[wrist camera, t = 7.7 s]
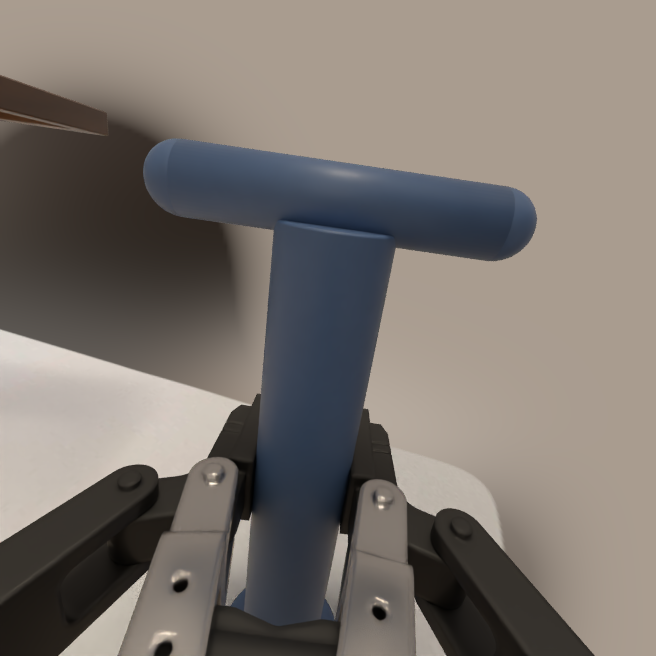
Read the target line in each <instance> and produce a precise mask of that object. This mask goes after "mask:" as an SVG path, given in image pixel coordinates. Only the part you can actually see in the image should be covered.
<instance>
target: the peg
mask: <svg viewBox="0 0 656 656" xmlns="http://www.w3.org/2000/svg"><path fill="white" fill-rule="evenodd" d="M143 172H144V173H143V174H144V181H145V185H146V188H147V190H148V192H149V194H150V195H151V197H152V198H153V199H154V201H155V202H156V203H157V204H158V205H159V206H160V207H162V208H163V209H164V210H166V211H168V212H170V213H172V214H174V215H177V216H182V217H188V218H194V219H202V220H208V221H215V222H222V223H229V224H236V225H243V226H250V227H257V228H263V229H270V230H274V235H273V247H272V260H271V261H272V262H271V273H270V286H269V298H268V312H267V324H266V338H265V350H264V363H263V375H262V388H261V400H260V413H259V426H258V439H257V453H256V466H255V478H254V491H253V504H252V515H251V528H250V541H249V554H248V566H247V579H246V588H245V589H244V590H243V591H242V592H241V593H240V594H239V595H238V596H237V598H236V599H235V600H234V602H233V603H232V605H231V606H230V607H236V608H238V609H240V610H242V611H244V612H246V613H249V614H251V615H253V616H255V617H257V618H259V619H261V620H264V621H266V622H268V623H270V624H272V625H275V626H283V625H289V624H295V623H301V622H307V621H313V620H319V619H325V620H333V621H335V620H334V616H333V614H332V611H331V608H330V606H329V604H328V603H327V601H326V599H325V595H326V590H327V585H328V580H329V575H330V570H331V565H332V560H333V555H334V550H335V545H336V540H337V535H338V530H339V525H340V519H341V514H342V509H343V504H344V499H345V494H346V490H347V485H348V480H349V475H350V470H351V465H352V461H353V456H354V451H355V446H356V441H357V436H358V431H359V426H360V421H361V416H362V411H363V406H364V401H365V396H366V392H367V387H368V381H369V377H370V371H371V367H372V362H373V357H374V352H375V347H376V342H377V337H378V332H379V327H380V322H381V317H382V311H383V307H384V302H385V297H386V293H387V288H388V282H389V278H390V273H391V268H392V263H393V258H394V253H395V248H402V249H408V250H415V251H422V252H429V253H436V254H443V255H450V256H457V257H464V258H470V259H478V260H485V261H498V260H503V259H506V258H509V257H512V256H513V255H515V254H517V253H518V252H520V251H521V250H522V249H523V248H524V247H525V246H526V245H527V244H528V243H529V241H530V240H531V238H532V236H533V234H534V231H535V228H536V221H537V217H536V211H535V207H534V205H533V204H532V202H531V200H530V199H529V198H528V197H527V196H526V195H525V194H524V193H523V192H521V191H519V190H517V189H514V188H511V187H506V186H499V185H493V184H486V183H480V182H473V181H466V180H459V179H452V178H446V177H439V176H431V175H424V174H418V173H411V172H404V171H398V170H391V169H384V168H377V167H370V166H363V165H357V164H350V163H343V162H336V161H330V160H323V159H316V158H309V157H302V156H295V155H288V154H282V153H275V152H268V151H261V150H254V149H248V148H241V147H234V146H227V145H220V144H213V143H207V142H200V141H193V140H186V139H169V140H165V141H163V142H161V143H159V144H157V145H156V146H155V147H154V148H153V149H151V151H150V152H149V154H148V156H147V157H146V160H145V163H144V170H143Z"/></svg>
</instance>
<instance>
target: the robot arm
mask: <svg viewBox="0 0 656 656" xmlns="http://www.w3.org/2000/svg"><path fill="white" fill-rule="evenodd" d="M260 400H261V394H257V395H256V397H255V400H254V402H253V404H252V406H246V405H240V406H239V407H237V408H236V409H235V410H233V411H232V412H231V414H230V415H229V417H228V419H227V421H226V423H225V425H224V427H223V429H222V431H221V433H220V435H219V436H218V438H217V440H216V442H215V444H214V446H213V448H212V450H211V452H210V454H209V456H208V458H207V459H204V460H202V461H200V462H198V463H197V464H195V465H194V466H193V467H192V469H191V470H190V472H189V473H188V474H185V475H182V476H175V477H167V478H158V474H157V472H156V470H155V469H153V468H152V467H150V466H147V465H130V466H126V467H123V468H121V469H118V470H116V471H115V472H113V473H111V474H110V475H108V476H106V477H105V478H103V479H102V480H100V481H98V482H97V483H95V484H94V485H92V486H90V487H89V488H87V489H86V490H84V491H82V492H81V493H79V494H78V495H76V496H75V497H73V498H71V499H70V500H68V501H67V502H65V503H63V504H62V505H60V506H59V507H57V508H55V509H54V510H52V511H51V512H49V513H47V514H46V515H44V516H43V517H41V518H39V519H38V520H36V521H35V522H33V523H31V524H30V525H28V526H27V527H25V528H23V529H22V530H20V531H19V532H17V533H15V534H14V535H12V536H11V537H9V538H7V539H6V540H4V541H3V542H1V543H0V656H58V655H59V654H60V653H62V652H63V651H64V650H65V649H66V648H67V647H68V646H69V645H70V644H71V643H72V642H73V641H74V640H75V639H76V638H77V637H78V636H79V635H80V634H81V633H83V632H84V631H85V630H86V629H87V628H88V627H89V626H90V625H91V624H92V623H93V622H94V621H95V620H96V619H97V618H98V617H99V616H100V615H101V614H102V613H104V612H105V611H106V610H107V609H108V608H109V607H110V606H111V605H112V604H113V603H114V602H115V601H116V600H117V599H118V598H119V597H120V596H121V595H122V594H123V593H125V592H126V591H127V590H128V589H129V588H130V587H131V586H132V585H133V584H134V583H135V582H136V581H137V580H138V579H139V578H140V577H141V576H142V575H143V574H144V573H146V572H147V571H148V573H147V576H146V578H145V581H144V584H143V587H142V590H141V592H140V595H139V598H138V601H137V603H136V606H135V609H134V612H133V615H132V617H131V620H130V623H129V626H128V629H127V631H126V634H125V637H124V640H123V643H122V645H121V648H120V651H119V654H118V656H416V639H415V604H414V597H415V600H416V602H417V604H418V606H419V608H420V609H421V611H422V613H423V615H424V617H425V618H426V620H427V622H428V624H429V625H430V627H431V629H432V631H433V632H434V634H435V636H436V638H437V640H438V641H439V643H440V645H441V647H442V648H443V650H444V652H445V654H446V655H447V656H594V654H593V653H592V652H591V651H590V650H589V649H588V647H587V646H586V645H585V644H584V643H583V642H582V641H581V639H580V638H579V637H578V636H577V635H576V634H575V633H574V631H573V630H572V629H571V628H570V627H569V626H568V625H567V623H566V622H565V621H564V620H563V619H562V618H561V616H560V615H559V614H558V613H557V612H556V611H555V610H554V609H553V608H552V606H551V605H550V604H549V603H548V602H547V600H546V599H545V598H544V597H543V596H542V595H541V594H540V592H539V591H538V590H537V589H536V588H535V587H534V586H533V584H532V583H531V582H530V581H529V580H528V579H527V577H526V576H525V575H524V574H523V573H522V572H521V571H520V569H519V568H518V567H517V566H516V565H515V564H514V563H513V561H512V560H511V559H510V558H509V557H508V556H507V555H506V553H505V552H504V551H503V550H502V549H501V548H500V546H499V545H498V544H497V543H496V542H495V541H494V540H493V538H492V537H491V536H490V535H489V534H488V533H487V532H486V530H485V529H484V528H483V527H482V526H481V525H480V524H479V523H478V521H477V520H475V519H474V518H473V517H472V516H470V515H469V514H467V513H465V512H463V511H461V510H457V509H452V508H447V509H443V510H441V511H439V512H438V513H437V515H436V517H435V516H433V515H430V514H428V513H426V512H423V511H421V510H419V509H417V508H415V507H413V506H412V505H410V504H409V503H408V502H407V501H406V497H405V495H404V493H403V492H402V491H401V490H400V489H399V488H398V487H397V482H396V477H395V471H394V466H393V460H392V455H391V449H390V446H389V445H390V444H389V439H388V434H387V432H386V431H385V430H384V428H383V427H382V426H381V425H380V424H373V423H370V419H369V411H368V409H363V411H362V416H361V421H360V426H359V431H358V436H357V441H356V446H355V451H354V456H353V461H352V465H351V470H350V475H349V480H348V485H347V490H346V494H345V499H344V504H343V509H342V514H341V519H340V533H341V534H348V548H347V552H346V557H345V563H344V570H343V576H342V582H341V588H340V594H339V600H338V606H337V612H336V618H335V621H333V620H325V619H319V620H313V621H307V622H301V623H295V624H289V625H283V626H275V625H272V624H270V623H268V622H266V621H264V620H261V619H259V618H257V617H255V616H253V615H251V614H249V613H246V612H244V611H242V610H240V609H238V608H236V607H230V606H225V603H226V596H227V589H228V582H229V575H230V568H231V561H232V555H233V548H234V540H235V534H236V532H237V529H238V525H239V522H240V519H241V520H249V519H250V515H251V512H252V504H253V491H254V478H255V466H256V453H257V439H258V426H259V413H260Z"/></svg>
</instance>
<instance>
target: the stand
mask: <svg viewBox="0 0 656 656" xmlns="http://www.w3.org/2000/svg"><path fill="white" fill-rule="evenodd" d="M0 121H7V122H14V123H21V124H28V125H35V126H42V127H48V128H55V129H62V130H70V131H77V132H83V133H90V134H97V135H104V136H108V122H107V113H106V112H104V111H101V110H98V109H95V108H93V107H90V106H87V105H84V104H81V103H79V102H76V101H73V100H70V99H67V98H64V97H61V96H59V95H56V94H53V93H50V92H47V91H44V90H41V89H38V88H36V87H33V86H30V85H27V84H24V83H22V82H19V81H16V80H13V79H10V78H7V77H4V76H2V75H0Z"/></svg>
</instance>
